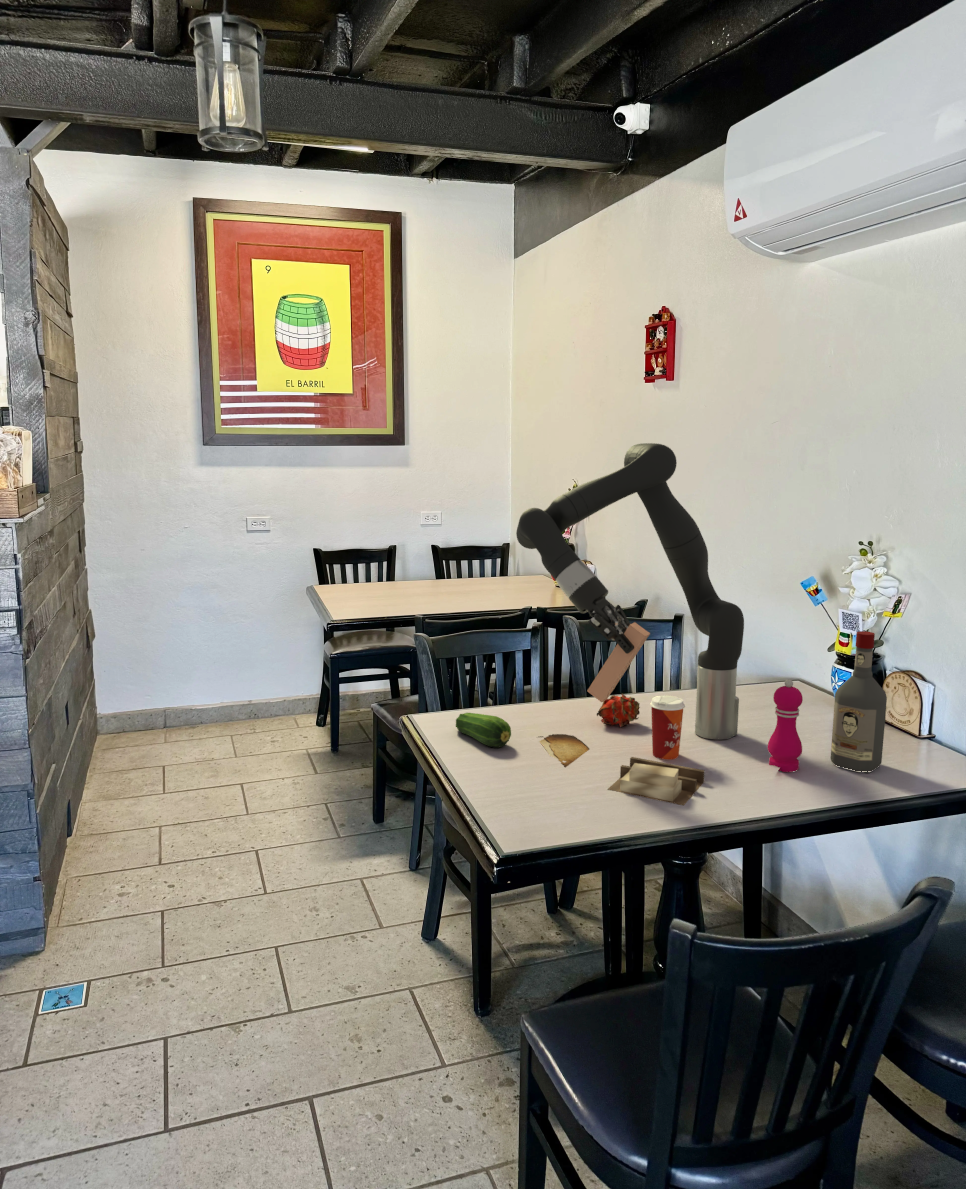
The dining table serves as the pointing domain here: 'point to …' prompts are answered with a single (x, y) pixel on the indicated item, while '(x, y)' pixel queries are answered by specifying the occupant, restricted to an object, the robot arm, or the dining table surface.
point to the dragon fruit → (619, 710)
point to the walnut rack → (687, 775)
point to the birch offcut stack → (652, 781)
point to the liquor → (859, 713)
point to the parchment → (564, 747)
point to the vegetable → (484, 728)
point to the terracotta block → (617, 663)
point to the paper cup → (666, 726)
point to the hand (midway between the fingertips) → (633, 649)
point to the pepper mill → (786, 729)
